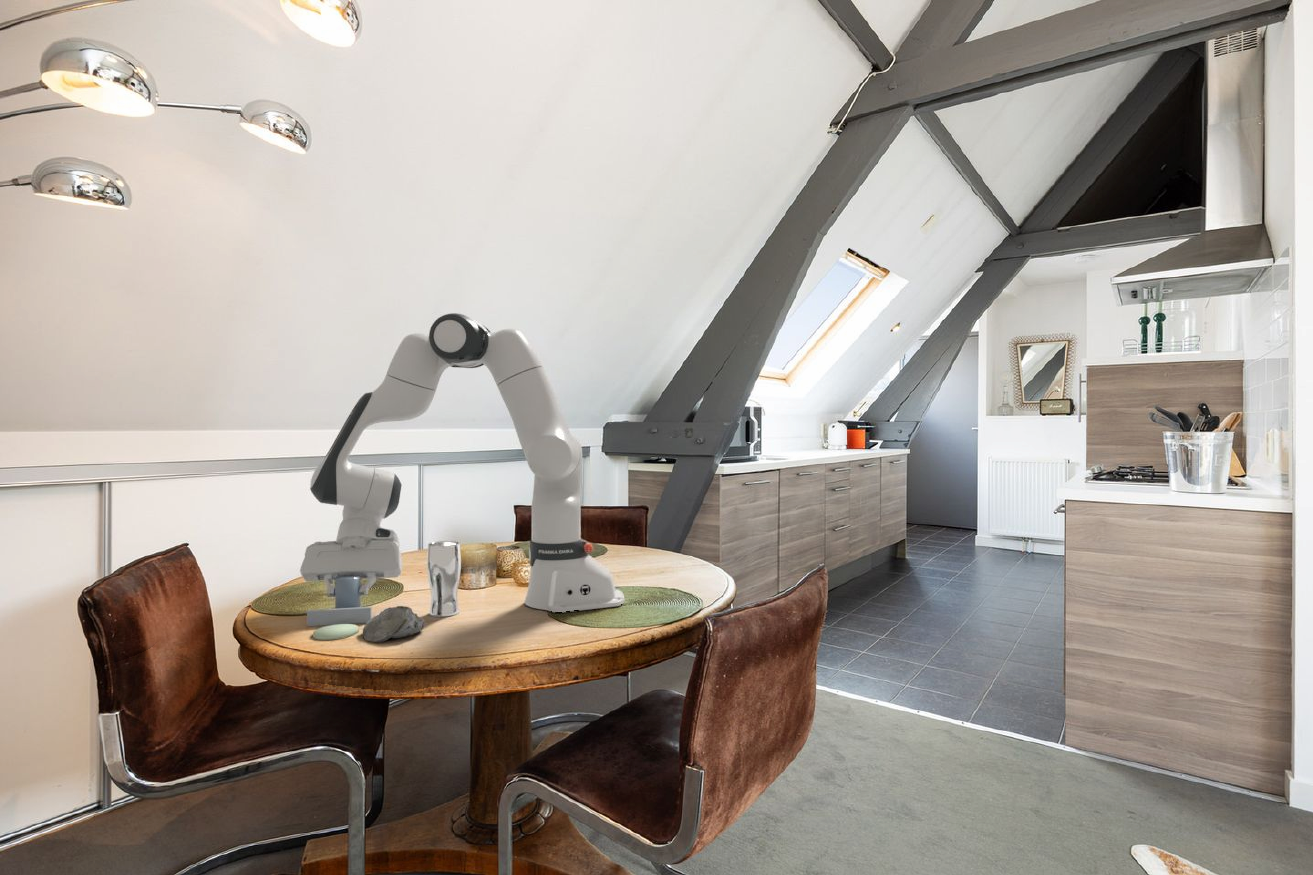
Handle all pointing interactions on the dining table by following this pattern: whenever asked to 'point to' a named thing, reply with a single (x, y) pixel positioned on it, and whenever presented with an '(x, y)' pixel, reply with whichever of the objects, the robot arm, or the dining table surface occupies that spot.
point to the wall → (339, 616)
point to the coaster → (335, 632)
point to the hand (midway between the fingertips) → (347, 594)
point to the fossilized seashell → (393, 624)
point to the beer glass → (444, 577)
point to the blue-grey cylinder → (347, 591)
